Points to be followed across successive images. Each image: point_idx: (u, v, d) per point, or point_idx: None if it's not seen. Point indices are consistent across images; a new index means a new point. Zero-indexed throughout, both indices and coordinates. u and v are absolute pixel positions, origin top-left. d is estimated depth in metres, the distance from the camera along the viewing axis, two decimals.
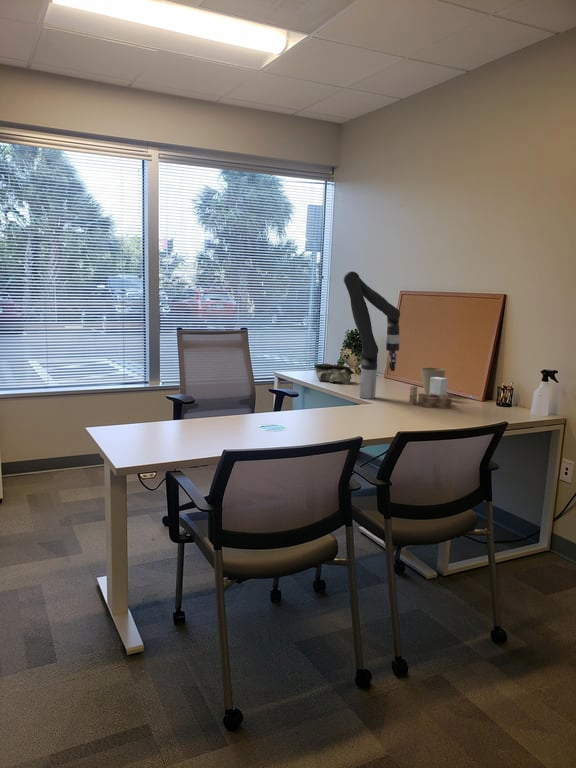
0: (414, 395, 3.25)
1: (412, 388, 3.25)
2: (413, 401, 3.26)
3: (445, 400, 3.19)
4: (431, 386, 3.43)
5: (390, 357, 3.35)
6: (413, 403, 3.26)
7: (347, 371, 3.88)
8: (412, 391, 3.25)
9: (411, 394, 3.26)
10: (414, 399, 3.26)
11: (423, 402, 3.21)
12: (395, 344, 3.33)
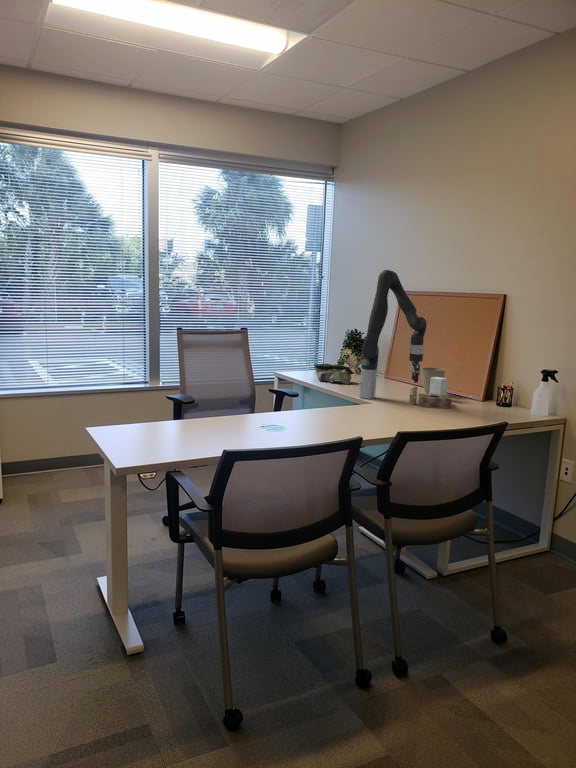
0: (414, 395, 3.25)
1: (412, 388, 3.25)
2: (413, 401, 3.26)
3: (445, 400, 3.19)
4: (431, 386, 3.43)
5: (413, 368, 3.22)
6: (413, 403, 3.26)
7: (347, 371, 3.88)
8: (412, 391, 3.25)
9: (411, 394, 3.26)
10: (414, 399, 3.26)
11: (423, 402, 3.21)
12: (419, 355, 3.20)
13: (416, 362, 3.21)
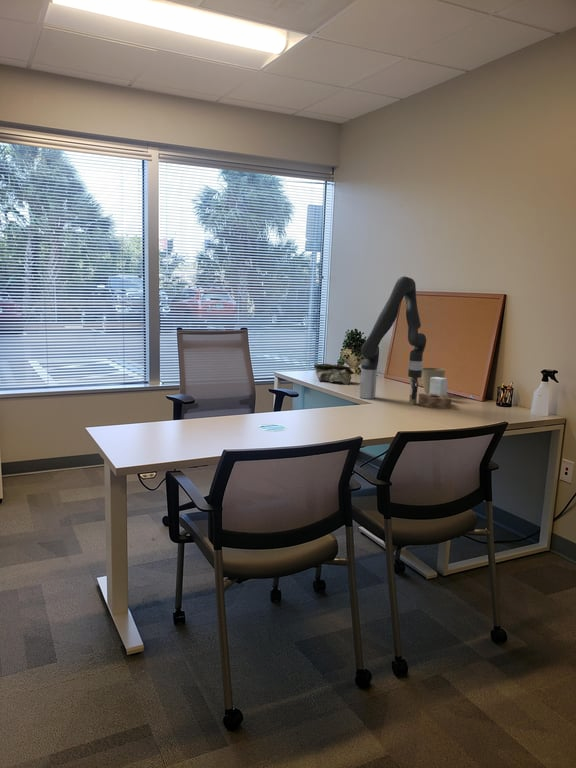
0: None
1: None
2: (413, 401, 3.26)
3: (445, 400, 3.19)
4: (431, 386, 3.43)
5: (412, 385, 3.24)
6: (413, 403, 3.26)
7: (347, 371, 3.88)
8: None
9: (411, 394, 3.26)
10: (414, 399, 3.26)
11: (423, 402, 3.21)
12: (418, 371, 3.21)
13: (415, 378, 3.22)
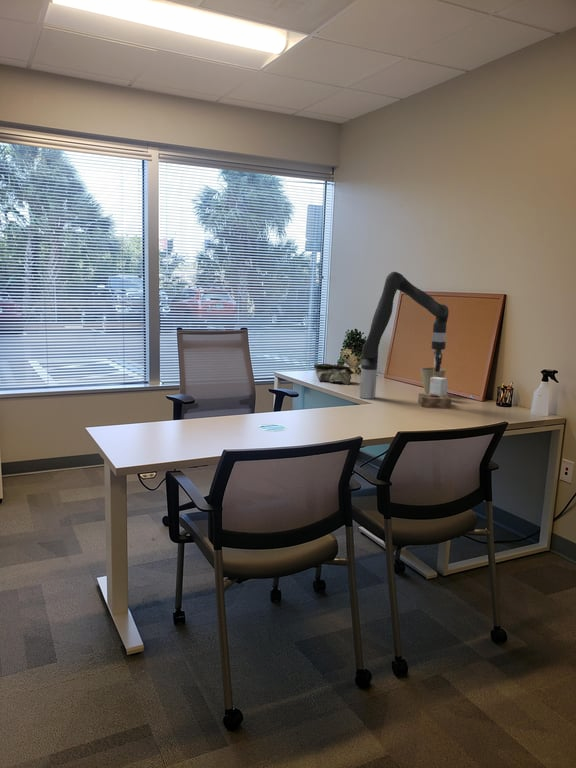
0: None
1: None
2: (437, 373, 3.22)
3: (445, 400, 3.19)
4: (431, 386, 3.43)
5: (435, 357, 3.20)
6: (437, 375, 3.22)
7: (347, 371, 3.88)
8: None
9: (435, 366, 3.22)
10: None
11: (423, 402, 3.21)
12: (442, 342, 3.18)
13: (438, 350, 3.18)
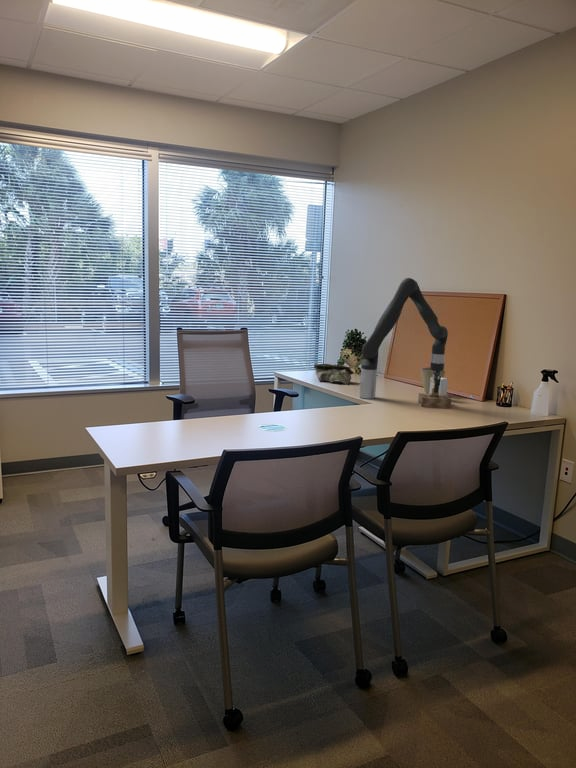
0: None
1: None
2: (435, 394, 3.24)
3: (445, 400, 3.19)
4: (431, 386, 3.43)
5: (434, 378, 3.23)
6: (435, 396, 3.25)
7: (347, 371, 3.88)
8: None
9: (433, 387, 3.24)
10: None
11: (423, 402, 3.21)
12: (440, 364, 3.20)
13: (437, 371, 3.20)
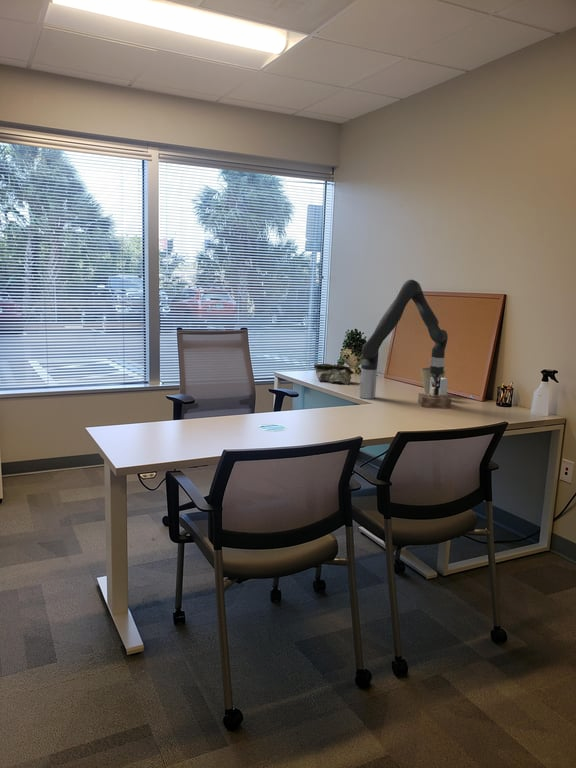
0: (436, 396, 3.25)
1: (434, 389, 3.24)
2: None
3: (445, 400, 3.19)
4: (431, 386, 3.43)
5: (434, 381, 3.22)
6: None
7: (347, 371, 3.88)
8: None
9: (432, 395, 3.25)
10: None
11: (423, 402, 3.21)
12: (440, 367, 3.20)
13: (437, 375, 3.21)
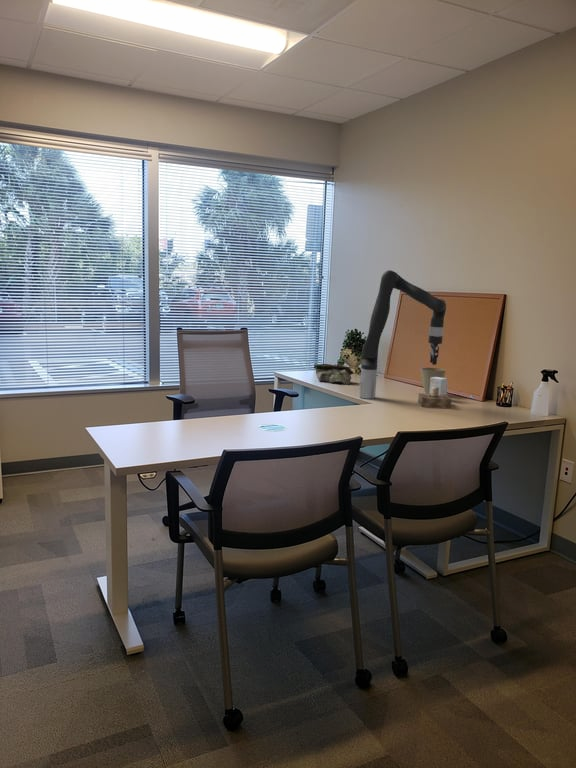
0: (436, 396, 3.25)
1: (434, 389, 3.24)
2: None
3: (445, 400, 3.19)
4: (431, 386, 3.43)
5: (432, 350, 3.22)
6: None
7: (347, 371, 3.88)
8: (434, 392, 3.25)
9: (432, 395, 3.25)
10: None
11: (423, 402, 3.21)
12: (438, 337, 3.20)
13: (435, 344, 3.20)
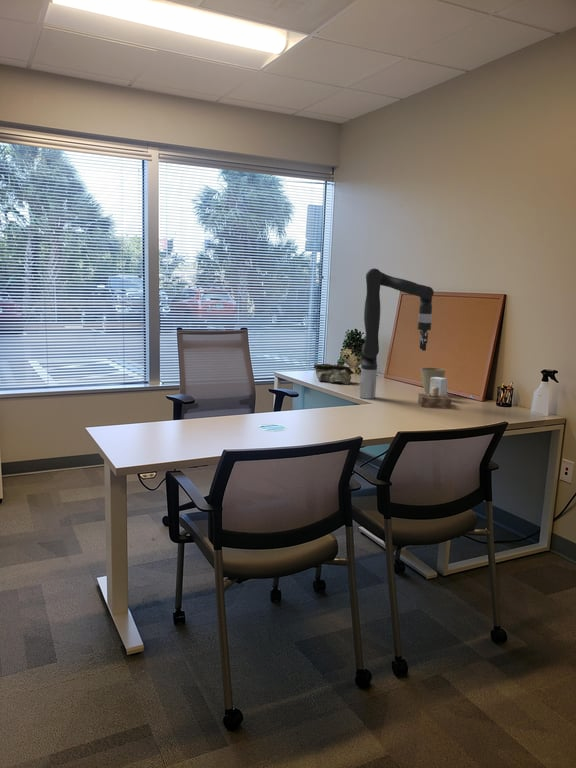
0: (436, 396, 3.25)
1: (434, 389, 3.24)
2: None
3: (445, 400, 3.19)
4: (431, 386, 3.43)
5: (421, 336, 3.29)
6: None
7: (347, 371, 3.88)
8: (434, 392, 3.25)
9: (432, 395, 3.25)
10: None
11: (423, 402, 3.21)
12: (427, 323, 3.27)
13: (424, 330, 3.28)
